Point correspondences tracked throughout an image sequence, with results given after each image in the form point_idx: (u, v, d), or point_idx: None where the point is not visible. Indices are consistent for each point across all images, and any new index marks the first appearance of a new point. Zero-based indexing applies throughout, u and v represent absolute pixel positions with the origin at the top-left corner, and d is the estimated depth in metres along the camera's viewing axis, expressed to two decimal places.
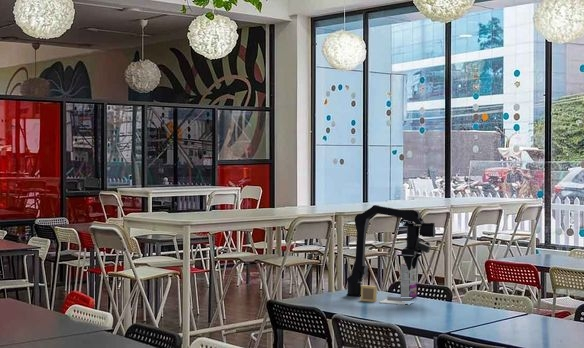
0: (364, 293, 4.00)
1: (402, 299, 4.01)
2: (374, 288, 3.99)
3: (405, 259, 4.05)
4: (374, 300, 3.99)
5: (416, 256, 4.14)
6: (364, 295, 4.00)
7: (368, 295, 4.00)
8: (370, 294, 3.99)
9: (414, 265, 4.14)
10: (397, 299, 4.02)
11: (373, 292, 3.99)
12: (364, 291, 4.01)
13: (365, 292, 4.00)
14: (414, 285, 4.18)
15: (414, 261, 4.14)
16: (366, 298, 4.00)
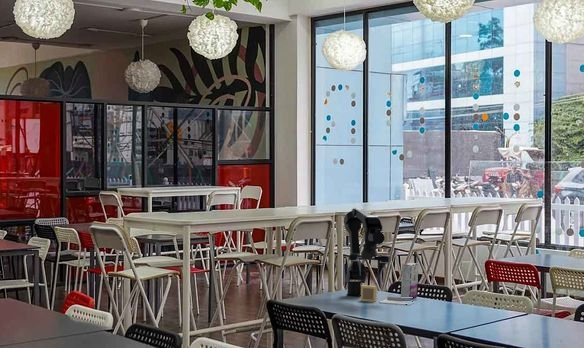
0: (364, 293, 4.00)
1: (402, 299, 4.01)
2: (374, 288, 3.99)
3: None
4: (374, 300, 3.99)
5: None
6: (364, 295, 4.00)
7: (368, 295, 4.00)
8: (370, 294, 3.99)
9: None
10: (397, 299, 4.02)
11: (373, 292, 3.99)
12: (364, 291, 4.01)
13: (365, 292, 4.00)
14: (415, 286, 4.18)
15: None
16: (366, 298, 4.00)
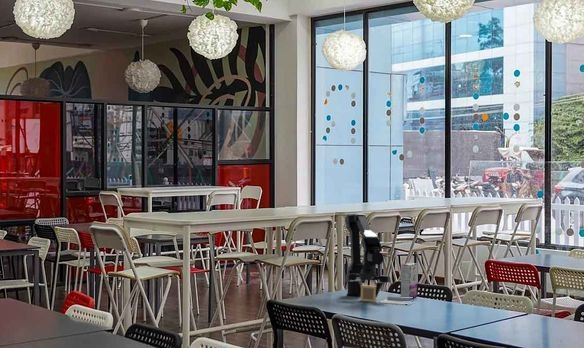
0: (364, 293, 4.00)
1: (402, 299, 4.01)
2: (374, 288, 3.99)
3: None
4: (374, 300, 3.99)
5: None
6: (364, 295, 4.00)
7: (368, 294, 4.00)
8: (370, 294, 3.99)
9: None
10: (397, 299, 4.02)
11: (373, 292, 3.99)
12: (364, 291, 4.01)
13: (365, 292, 4.00)
14: (414, 286, 4.18)
15: None
16: (366, 298, 4.00)
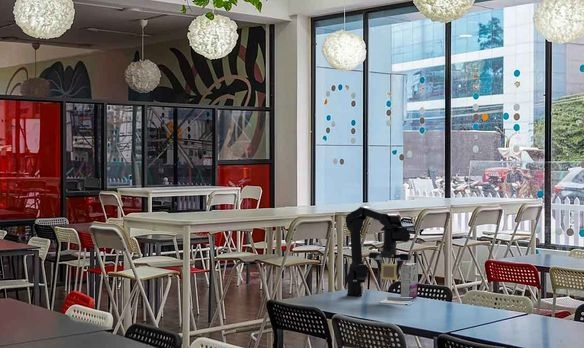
0: (384, 272, 4.00)
1: (402, 299, 4.01)
2: (394, 266, 3.99)
3: None
4: (395, 278, 3.99)
5: None
6: (385, 273, 4.00)
7: (388, 273, 4.00)
8: (391, 272, 3.99)
9: None
10: (397, 299, 4.02)
11: (393, 270, 3.99)
12: (385, 269, 4.01)
13: (386, 270, 4.00)
14: (414, 286, 4.18)
15: None
16: (386, 276, 4.00)
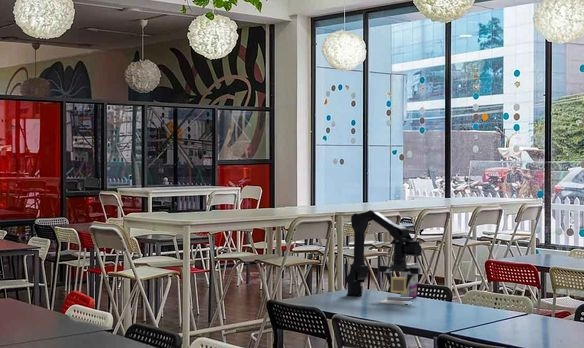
0: (394, 285, 4.01)
1: (402, 299, 4.01)
2: (404, 280, 3.99)
3: None
4: (404, 292, 3.99)
5: None
6: (394, 287, 4.01)
7: (398, 286, 4.00)
8: (400, 286, 4.00)
9: None
10: (397, 299, 4.02)
11: (403, 284, 3.99)
12: (394, 282, 4.01)
13: (395, 283, 4.01)
14: (414, 286, 4.18)
15: None
16: (396, 289, 4.01)
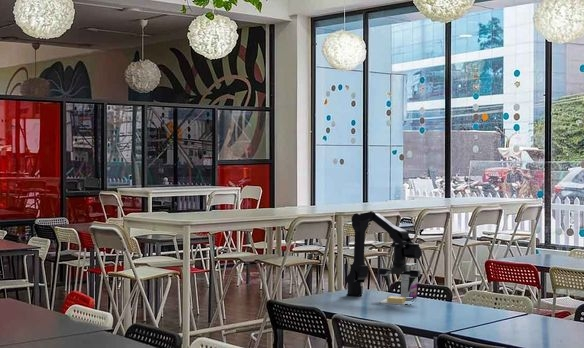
0: None
1: None
2: None
3: None
4: (404, 301, 3.99)
5: None
6: None
7: None
8: None
9: None
10: None
11: None
12: None
13: None
14: (414, 286, 4.18)
15: None
16: None
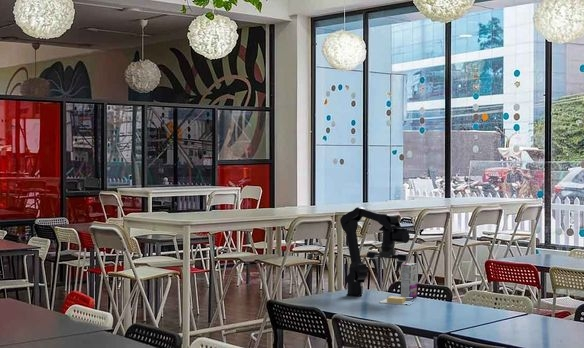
0: None
1: None
2: None
3: None
4: (404, 301, 3.99)
5: None
6: None
7: None
8: None
9: None
10: None
11: None
12: None
13: None
14: (414, 286, 4.18)
15: None
16: None
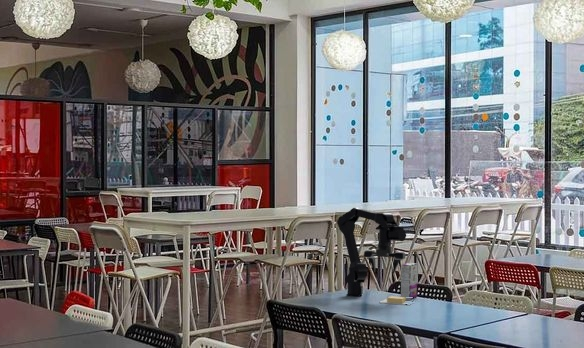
0: None
1: None
2: None
3: None
4: (404, 301, 3.99)
5: None
6: None
7: None
8: None
9: None
10: None
11: None
12: None
13: None
14: (414, 286, 4.18)
15: None
16: None
